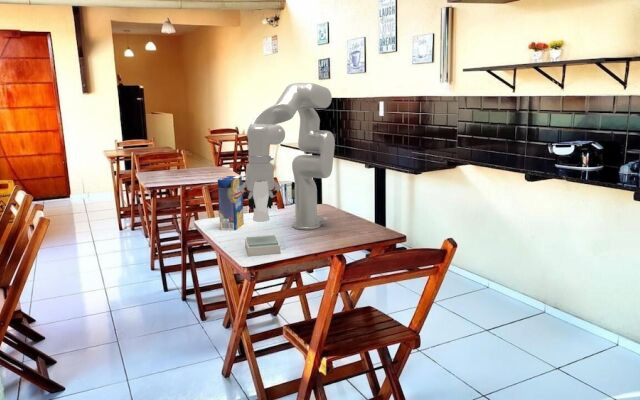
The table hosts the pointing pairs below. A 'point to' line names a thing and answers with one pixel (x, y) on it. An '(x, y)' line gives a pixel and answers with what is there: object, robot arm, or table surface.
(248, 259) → the table surface
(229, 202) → the beverage box
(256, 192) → the beer glass
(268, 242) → the base
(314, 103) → the robot arm
